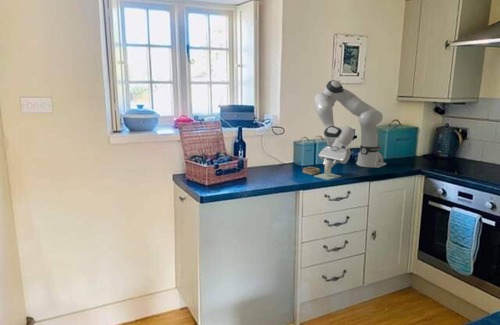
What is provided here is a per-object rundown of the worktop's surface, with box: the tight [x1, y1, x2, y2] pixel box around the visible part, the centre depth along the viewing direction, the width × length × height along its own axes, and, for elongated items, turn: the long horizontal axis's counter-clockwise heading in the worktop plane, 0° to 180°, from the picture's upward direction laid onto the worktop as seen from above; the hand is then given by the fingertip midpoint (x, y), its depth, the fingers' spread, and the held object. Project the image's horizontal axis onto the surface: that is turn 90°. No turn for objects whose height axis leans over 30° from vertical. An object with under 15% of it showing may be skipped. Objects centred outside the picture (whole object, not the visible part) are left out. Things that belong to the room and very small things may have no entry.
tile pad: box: [313, 173, 342, 181], centre depth 230 cm, size 13×11×1 cm
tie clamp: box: [302, 166, 321, 176], centre depth 240 cm, size 8×9×3 cm
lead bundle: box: [323, 159, 333, 174], centre depth 229 cm, size 4×4×9 cm
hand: (327, 165), depth 228 cm, fingers closed on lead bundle, 4 cm apart
